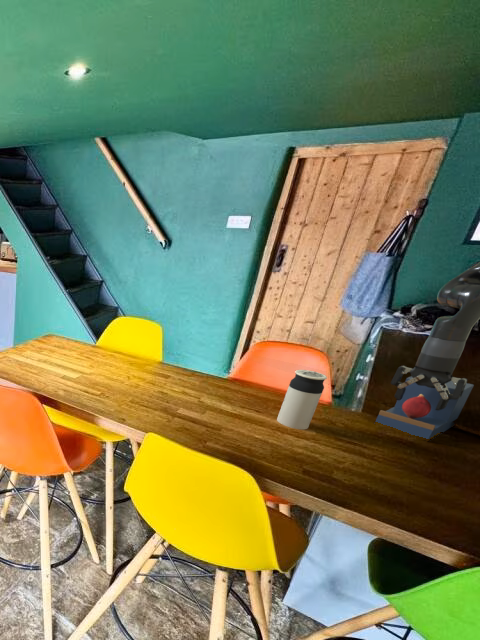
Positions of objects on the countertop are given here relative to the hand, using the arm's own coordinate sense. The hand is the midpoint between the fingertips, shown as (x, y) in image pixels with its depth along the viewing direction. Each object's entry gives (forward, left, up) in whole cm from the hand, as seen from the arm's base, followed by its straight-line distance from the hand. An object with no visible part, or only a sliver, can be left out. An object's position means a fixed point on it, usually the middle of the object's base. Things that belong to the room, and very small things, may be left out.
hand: (417, 404), depth 121 cm
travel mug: (+29, -18, -9) cm, 35 cm away
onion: (0, 0, -5) cm, 5 cm away
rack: (-6, 0, -9) cm, 11 cm away
